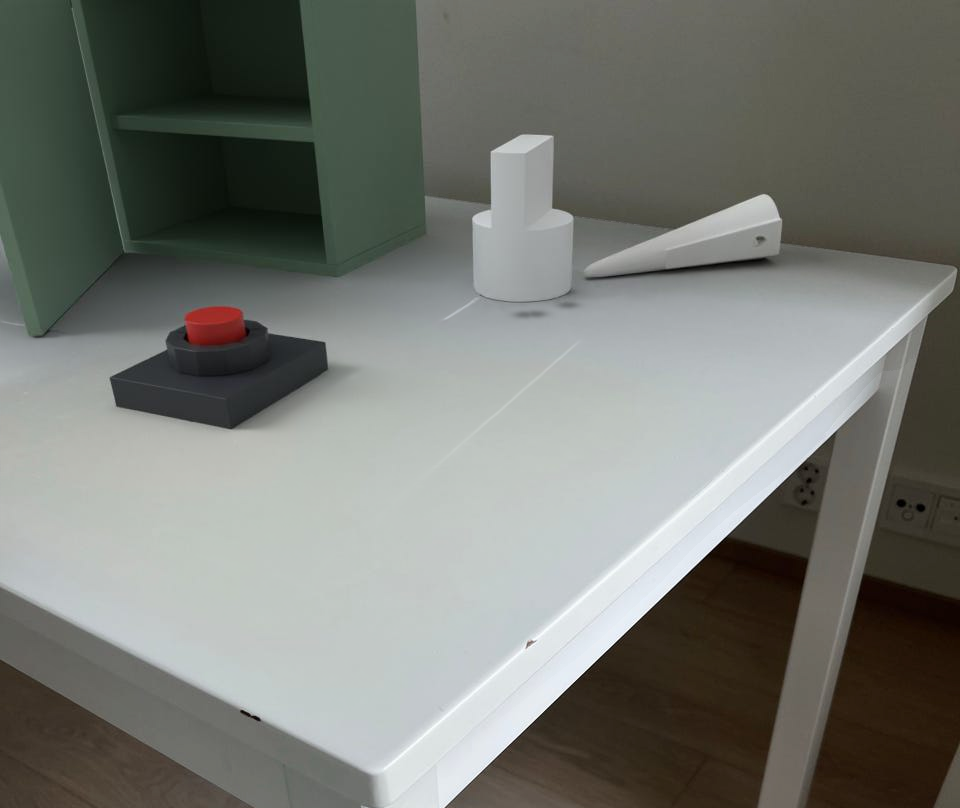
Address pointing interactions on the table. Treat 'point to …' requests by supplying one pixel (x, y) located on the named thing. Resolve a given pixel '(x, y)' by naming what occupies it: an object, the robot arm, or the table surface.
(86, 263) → the door
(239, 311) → the button
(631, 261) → the white tapered wedge
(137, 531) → the table surface
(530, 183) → the cylinder with rectangular tab
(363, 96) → the cupboard
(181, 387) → the button box
